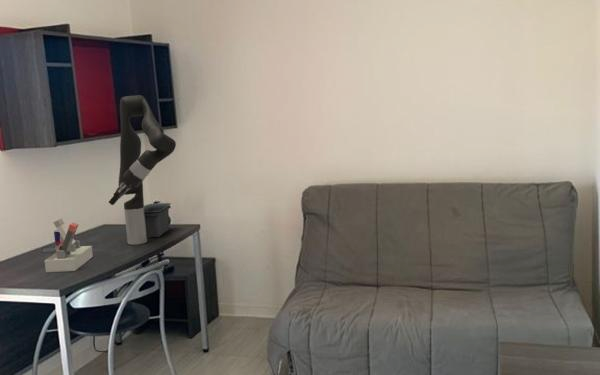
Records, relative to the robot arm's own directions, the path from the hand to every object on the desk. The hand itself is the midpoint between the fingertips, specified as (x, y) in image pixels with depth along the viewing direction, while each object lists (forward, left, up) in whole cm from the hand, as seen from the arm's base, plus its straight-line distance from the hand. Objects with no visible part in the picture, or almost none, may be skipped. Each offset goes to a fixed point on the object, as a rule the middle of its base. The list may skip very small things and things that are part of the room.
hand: (110, 203), depth 250 cm
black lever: (0, -22, -20) cm, 30 cm away
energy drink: (-21, -31, -27) cm, 46 cm away
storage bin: (-57, +2, -27) cm, 63 cm away
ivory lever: (-11, -22, -20) cm, 32 cm away
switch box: (-6, -22, -26) cm, 35 cm away
